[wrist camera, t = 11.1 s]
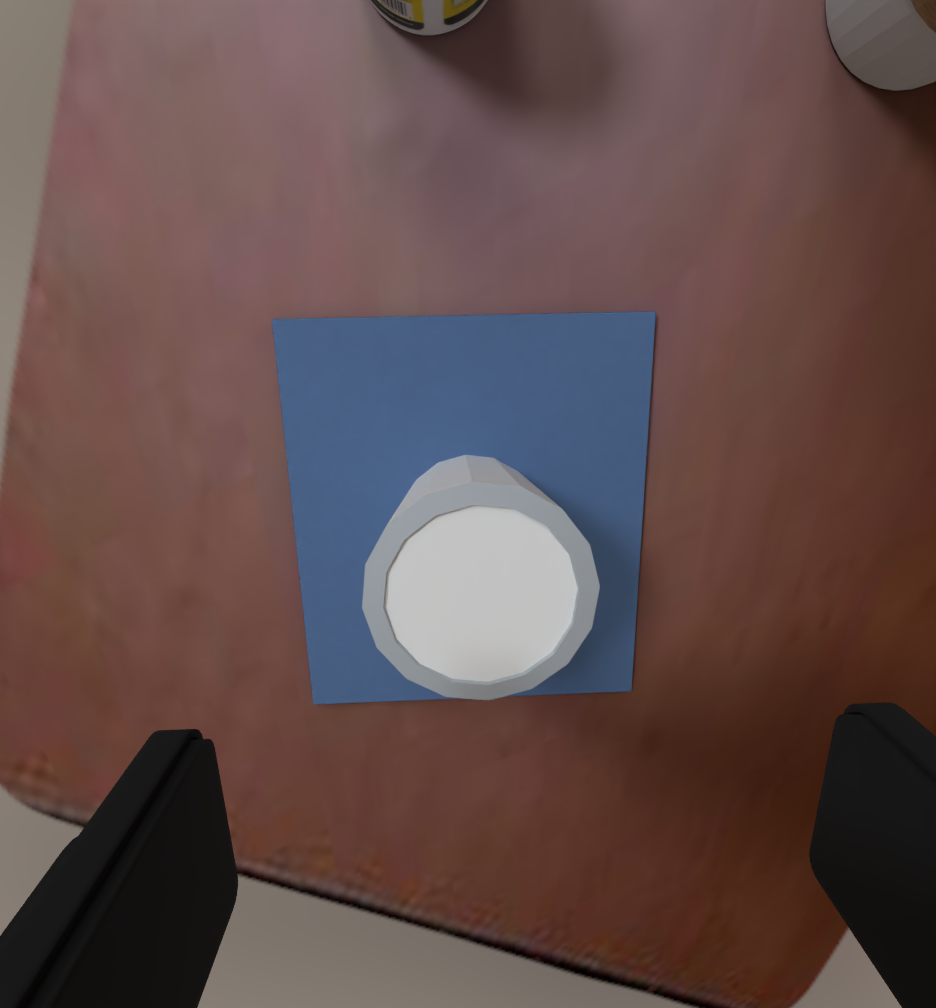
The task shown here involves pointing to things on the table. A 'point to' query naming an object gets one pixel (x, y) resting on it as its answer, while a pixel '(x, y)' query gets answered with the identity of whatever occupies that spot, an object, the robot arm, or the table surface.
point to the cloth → (452, 433)
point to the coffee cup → (885, 40)
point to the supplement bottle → (428, 14)
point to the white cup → (479, 582)
